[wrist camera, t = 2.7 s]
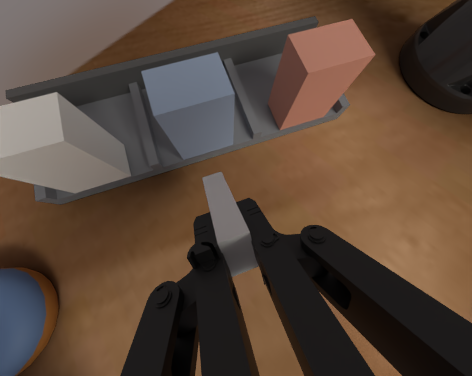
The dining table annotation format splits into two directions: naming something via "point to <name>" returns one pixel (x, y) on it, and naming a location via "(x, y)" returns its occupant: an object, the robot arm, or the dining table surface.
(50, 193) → the grey divided tray
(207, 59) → the blue rectangular block
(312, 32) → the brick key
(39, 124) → the white rectangular block
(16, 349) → the doughnut
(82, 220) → the dining table surface
